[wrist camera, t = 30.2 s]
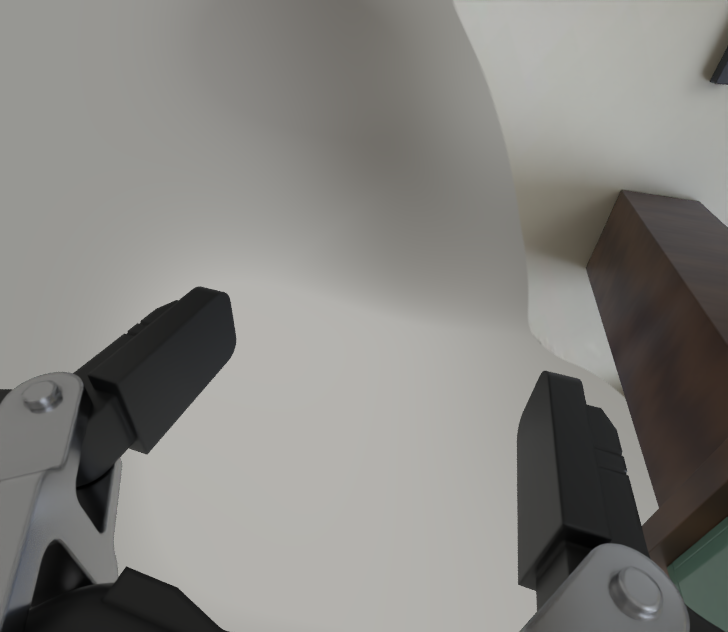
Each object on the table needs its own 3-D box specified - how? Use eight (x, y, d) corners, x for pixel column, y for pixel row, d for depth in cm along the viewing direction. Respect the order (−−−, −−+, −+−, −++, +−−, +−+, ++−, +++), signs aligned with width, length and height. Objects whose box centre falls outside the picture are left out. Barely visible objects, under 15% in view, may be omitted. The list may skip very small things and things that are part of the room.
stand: (647, 305, 46) (803, 626, 21) (569, 289, 47) (629, 570, 23) (727, 170, 37) (1161, 455, 12) (627, 157, 38) (831, 383, 14)
